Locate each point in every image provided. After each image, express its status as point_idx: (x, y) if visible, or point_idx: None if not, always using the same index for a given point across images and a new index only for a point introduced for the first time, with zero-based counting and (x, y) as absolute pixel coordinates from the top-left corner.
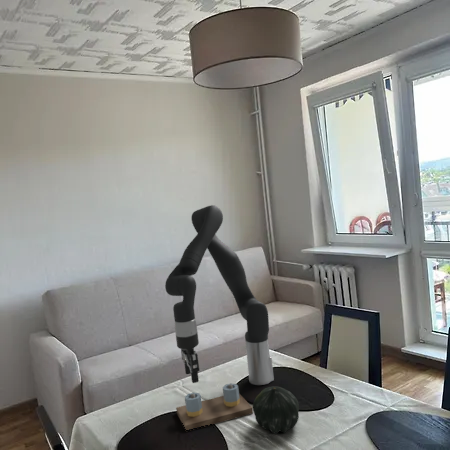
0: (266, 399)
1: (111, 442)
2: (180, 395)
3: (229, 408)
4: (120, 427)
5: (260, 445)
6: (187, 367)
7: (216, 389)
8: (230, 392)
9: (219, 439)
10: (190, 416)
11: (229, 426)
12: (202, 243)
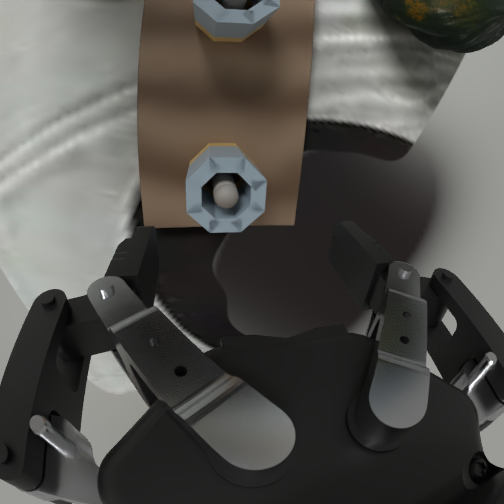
0: (499, 29)
1: None
2: (31, 187)
3: (269, 40)
4: None
5: (449, 83)
6: (150, 285)
7: (43, 51)
8: (277, 9)
9: (384, 146)
10: None
11: (342, 86)
12: None
